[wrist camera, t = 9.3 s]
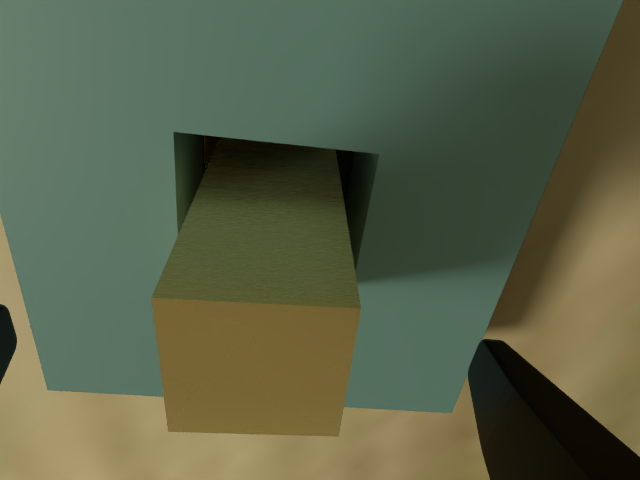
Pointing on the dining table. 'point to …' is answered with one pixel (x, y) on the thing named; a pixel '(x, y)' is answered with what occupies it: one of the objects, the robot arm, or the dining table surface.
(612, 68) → the dining table surface
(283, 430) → the peg
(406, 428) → the dining table surface
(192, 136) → the socket block
